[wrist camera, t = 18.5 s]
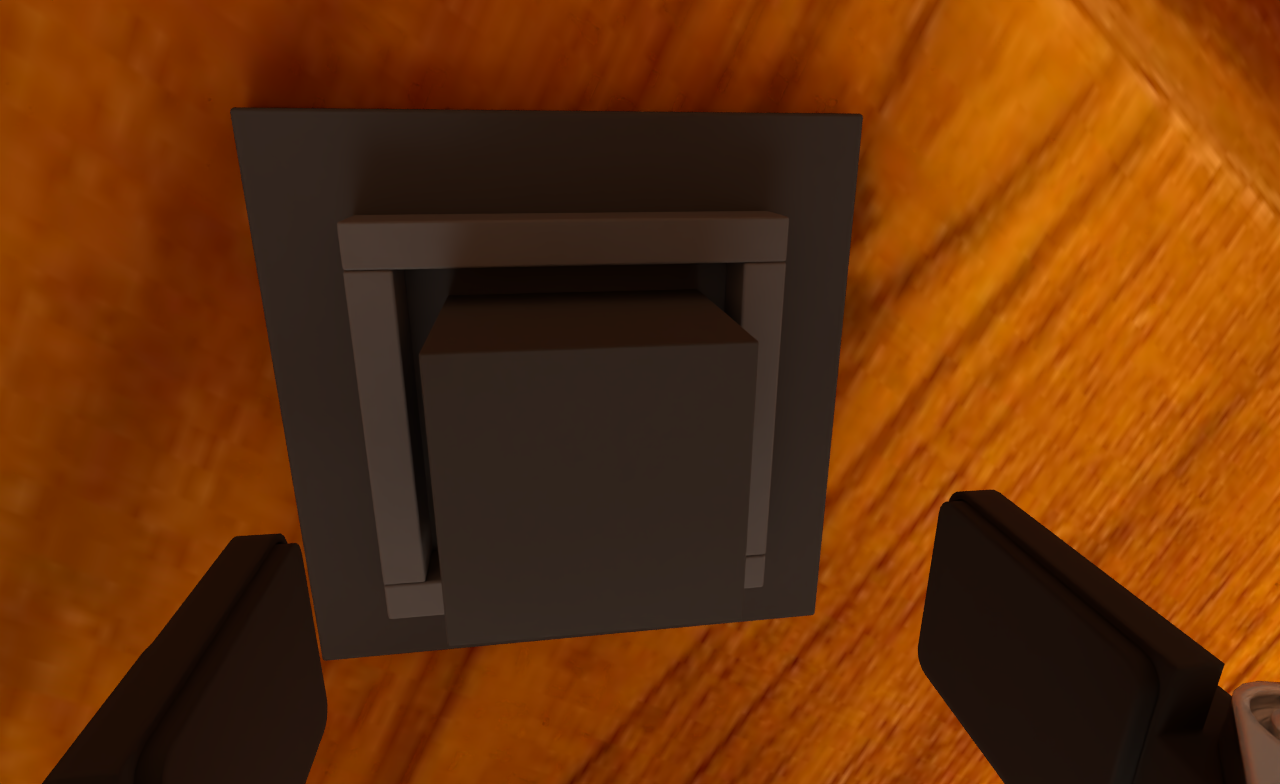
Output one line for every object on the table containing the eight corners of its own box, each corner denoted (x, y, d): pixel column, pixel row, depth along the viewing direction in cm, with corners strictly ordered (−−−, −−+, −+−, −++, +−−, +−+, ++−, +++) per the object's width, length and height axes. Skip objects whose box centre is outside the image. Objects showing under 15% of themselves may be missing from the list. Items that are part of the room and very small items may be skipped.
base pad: (245, 109, 16) (197, 103, 14) (846, 115, 18) (895, 111, 16) (331, 638, 21) (306, 702, 18) (803, 596, 23) (835, 648, 20)
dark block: (447, 294, 17) (418, 353, 12) (697, 288, 18) (759, 340, 13) (466, 522, 19) (447, 647, 14) (691, 506, 20) (743, 619, 15)
